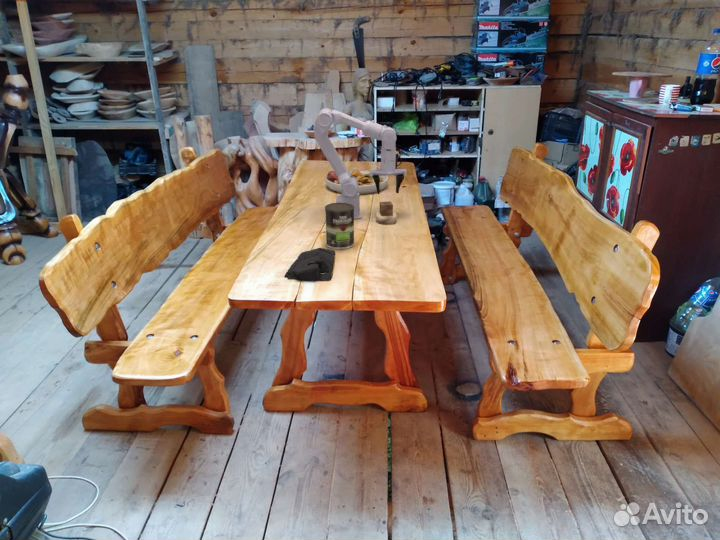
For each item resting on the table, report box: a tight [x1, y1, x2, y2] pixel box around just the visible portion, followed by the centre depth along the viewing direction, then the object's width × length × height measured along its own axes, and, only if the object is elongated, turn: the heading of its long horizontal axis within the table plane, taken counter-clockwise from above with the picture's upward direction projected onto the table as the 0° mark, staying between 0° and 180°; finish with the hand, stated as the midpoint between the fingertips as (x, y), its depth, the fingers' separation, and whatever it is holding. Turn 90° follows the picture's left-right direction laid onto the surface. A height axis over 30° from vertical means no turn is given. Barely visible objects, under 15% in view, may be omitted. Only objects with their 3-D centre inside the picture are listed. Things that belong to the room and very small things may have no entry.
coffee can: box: [324, 202, 355, 250], centre depth 196 cm, size 10×10×14 cm
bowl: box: [325, 169, 389, 195], centre depth 265 cm, size 30×30×8 cm
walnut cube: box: [379, 201, 394, 216], centre depth 218 cm, size 4×4×4 cm
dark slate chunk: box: [283, 247, 336, 282], centre depth 180 cm, size 15×22×5 cm
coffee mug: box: [395, 150, 403, 169], centre depth 290 cm, size 12×9×10 cm
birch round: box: [375, 210, 398, 226], centre depth 220 cm, size 8×8×4 cm
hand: (387, 193), depth 222 cm, fingers open, 7 cm apart
